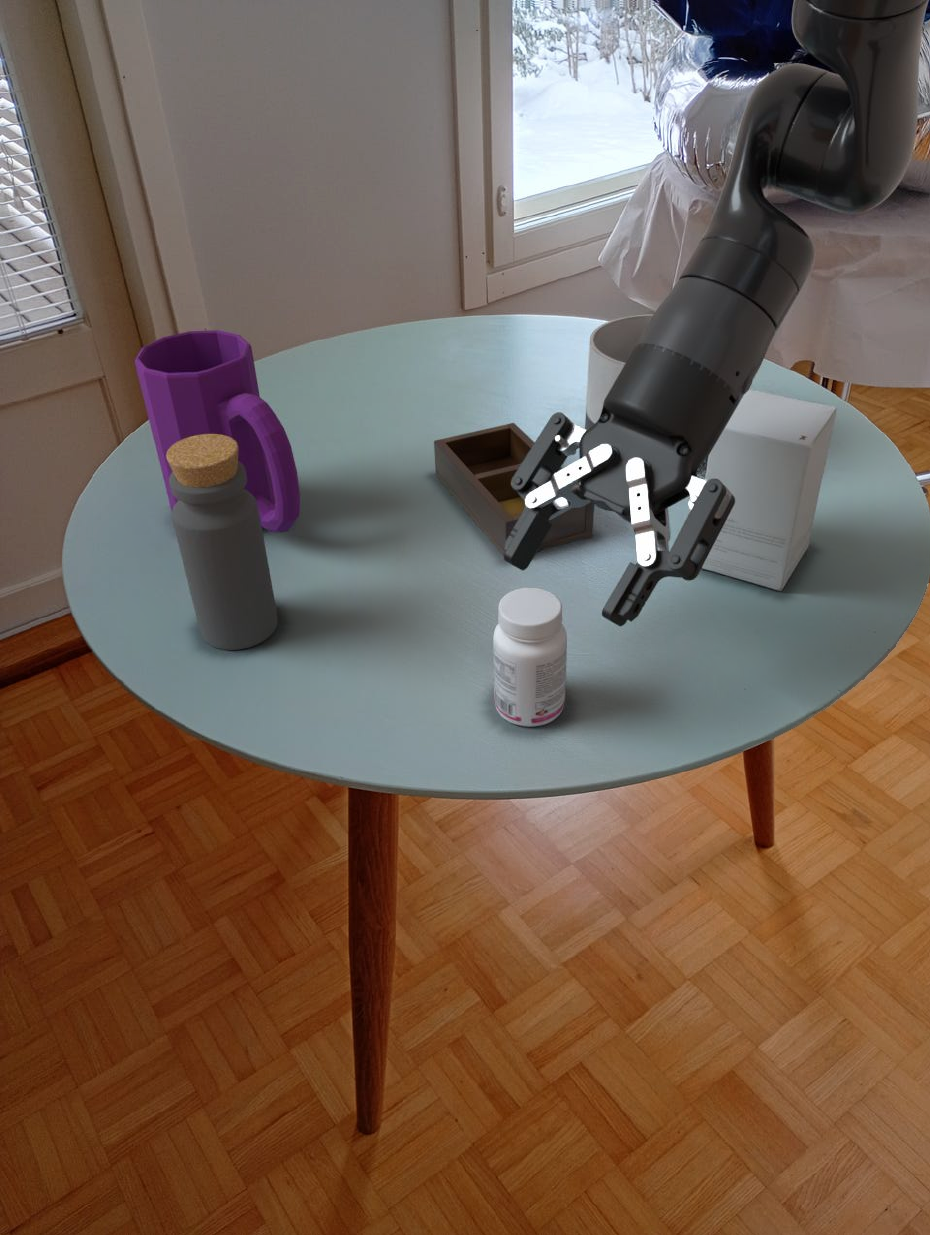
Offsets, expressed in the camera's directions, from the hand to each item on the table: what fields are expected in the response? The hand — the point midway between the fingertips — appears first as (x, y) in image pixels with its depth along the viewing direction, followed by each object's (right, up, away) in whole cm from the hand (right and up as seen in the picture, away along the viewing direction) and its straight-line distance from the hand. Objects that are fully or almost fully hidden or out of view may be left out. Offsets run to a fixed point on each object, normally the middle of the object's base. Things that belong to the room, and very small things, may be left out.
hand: (560, 592), depth 63 cm
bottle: (-23, -2, +11) cm, 26 cm away
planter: (+12, +15, +32) cm, 37 cm away
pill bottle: (-2, -8, +3) cm, 9 cm away
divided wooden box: (-2, +8, +24) cm, 25 cm away
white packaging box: (+17, +3, +16) cm, 24 cm away
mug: (-25, +6, +22) cm, 34 cm away
